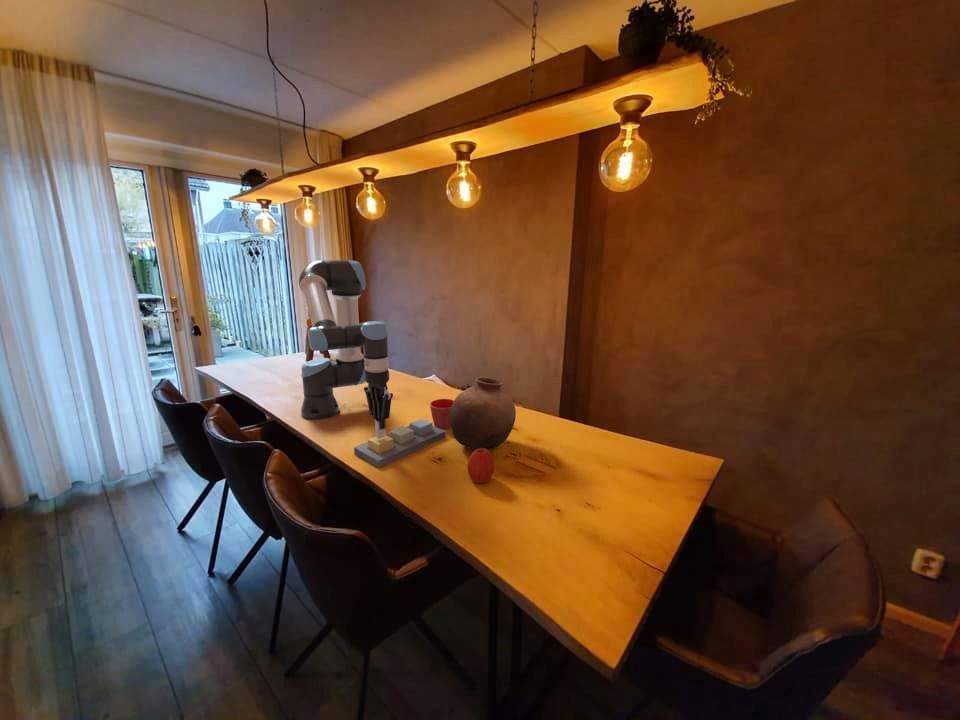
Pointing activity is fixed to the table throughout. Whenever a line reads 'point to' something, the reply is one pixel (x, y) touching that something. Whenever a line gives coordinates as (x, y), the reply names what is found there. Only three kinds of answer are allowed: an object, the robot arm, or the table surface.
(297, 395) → the table surface
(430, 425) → the blue button
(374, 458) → the button board
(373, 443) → the ochre button
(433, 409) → the flower pot
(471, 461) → the red oval body
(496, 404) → the pottery
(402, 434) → the sage button
